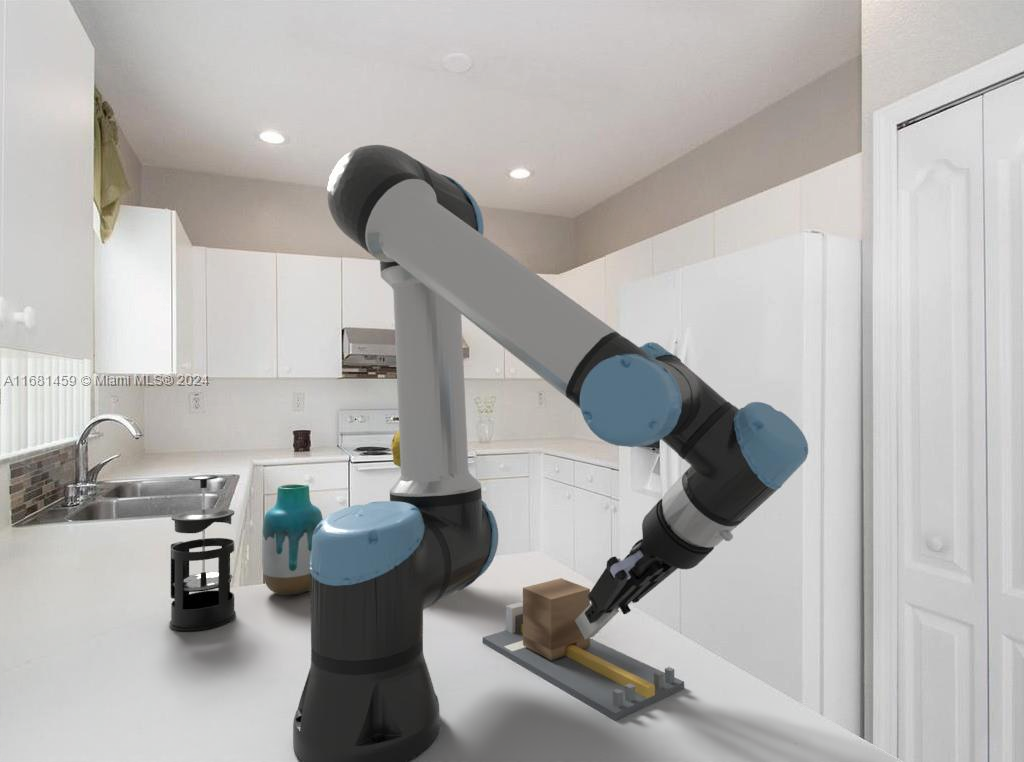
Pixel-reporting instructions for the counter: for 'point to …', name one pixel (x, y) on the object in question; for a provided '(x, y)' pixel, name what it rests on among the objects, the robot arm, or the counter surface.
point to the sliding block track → (589, 671)
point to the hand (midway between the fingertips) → (584, 628)
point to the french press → (205, 604)
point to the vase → (289, 540)
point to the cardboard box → (553, 617)
